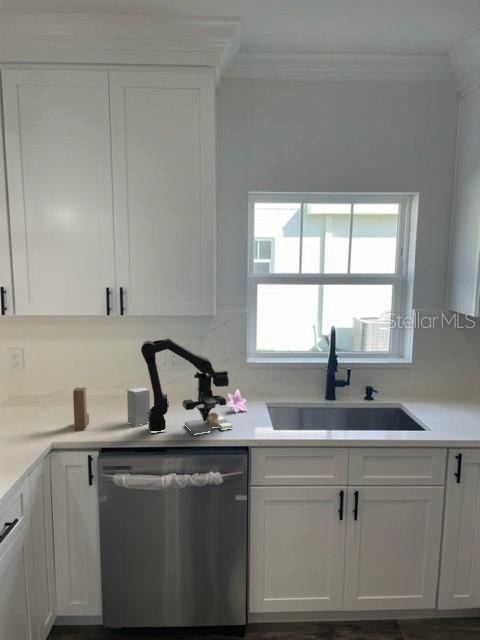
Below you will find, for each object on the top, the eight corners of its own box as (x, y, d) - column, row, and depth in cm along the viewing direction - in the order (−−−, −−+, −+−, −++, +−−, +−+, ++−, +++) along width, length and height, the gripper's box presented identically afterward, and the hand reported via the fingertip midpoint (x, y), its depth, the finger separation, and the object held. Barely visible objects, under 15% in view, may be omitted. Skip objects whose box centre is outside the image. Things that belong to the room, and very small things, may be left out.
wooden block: (79, 423, 196) (77, 384, 194) (89, 423, 197) (88, 384, 195) (74, 430, 188) (72, 390, 185) (85, 430, 188) (83, 390, 186)
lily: (222, 416, 211) (230, 402, 207) (219, 400, 221) (226, 386, 217) (244, 421, 215) (252, 407, 211) (240, 405, 225) (248, 391, 221)
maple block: (209, 424, 192) (209, 416, 191) (206, 421, 195) (206, 413, 195) (217, 423, 193) (218, 414, 193) (214, 420, 197) (214, 412, 196)
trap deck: (193, 435, 185) (193, 431, 184) (184, 426, 195) (184, 421, 195) (232, 429, 192) (232, 425, 192) (221, 420, 203) (221, 416, 203)
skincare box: (135, 427, 193) (134, 392, 190) (126, 423, 197) (125, 389, 195) (151, 422, 199) (150, 389, 197) (142, 418, 204) (142, 385, 201)
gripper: (190, 394, 179) (190, 430, 181) (231, 389, 187) (231, 424, 189) (182, 387, 189) (182, 422, 191) (221, 383, 197) (221, 416, 199)
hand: (204, 421), depth 192 cm, fingers closed
